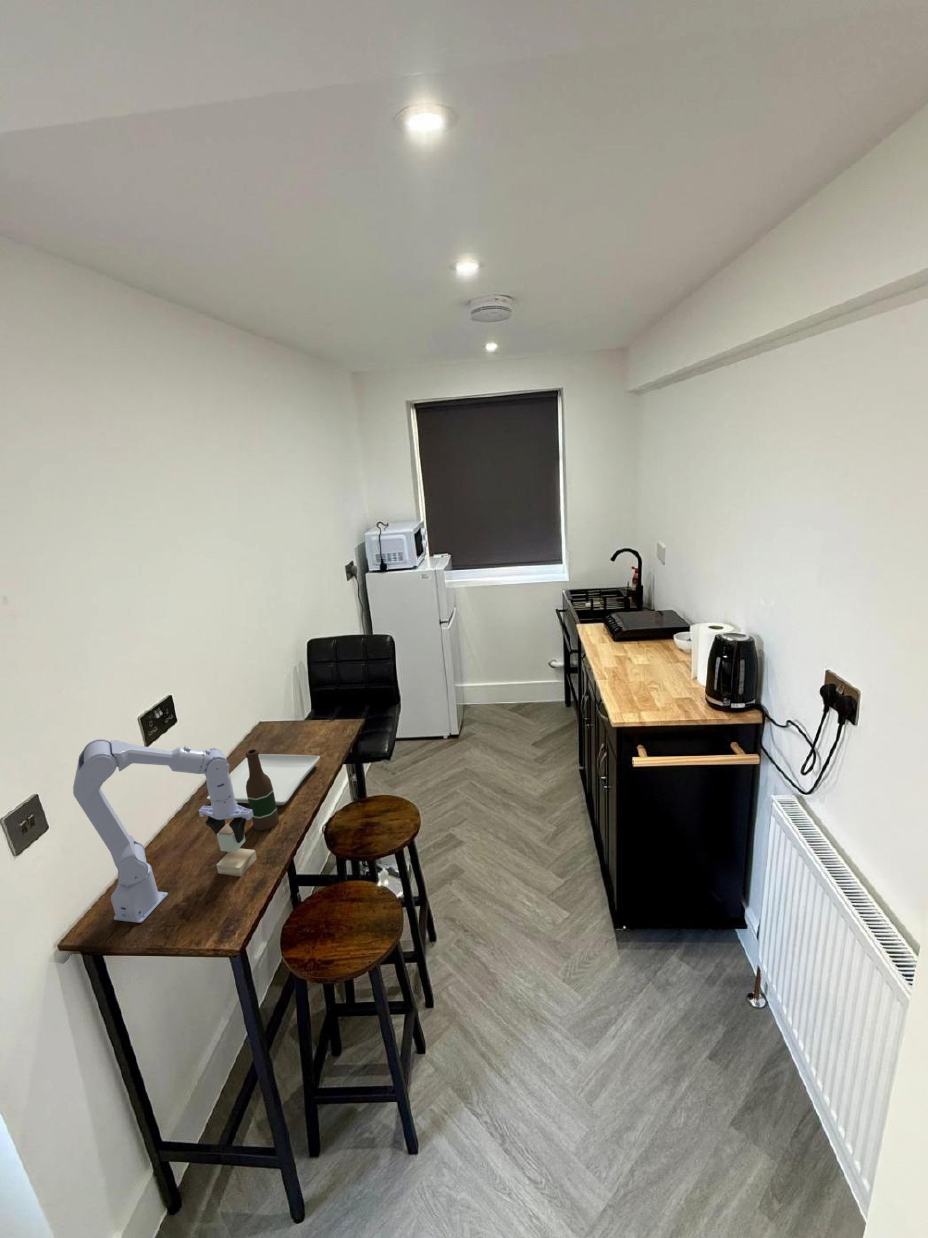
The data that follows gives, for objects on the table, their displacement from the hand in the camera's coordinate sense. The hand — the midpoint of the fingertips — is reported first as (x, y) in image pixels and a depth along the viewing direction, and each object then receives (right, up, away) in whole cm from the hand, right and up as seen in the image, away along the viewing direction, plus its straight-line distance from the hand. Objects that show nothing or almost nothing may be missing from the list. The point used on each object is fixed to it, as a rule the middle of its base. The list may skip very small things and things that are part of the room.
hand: (232, 840), depth 155 cm
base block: (+1, -8, +2) cm, 8 cm away
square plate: (-4, +3, +41) cm, 41 cm away
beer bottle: (+2, -3, +20) cm, 20 cm away
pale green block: (0, -2, 0) cm, 2 cm away
